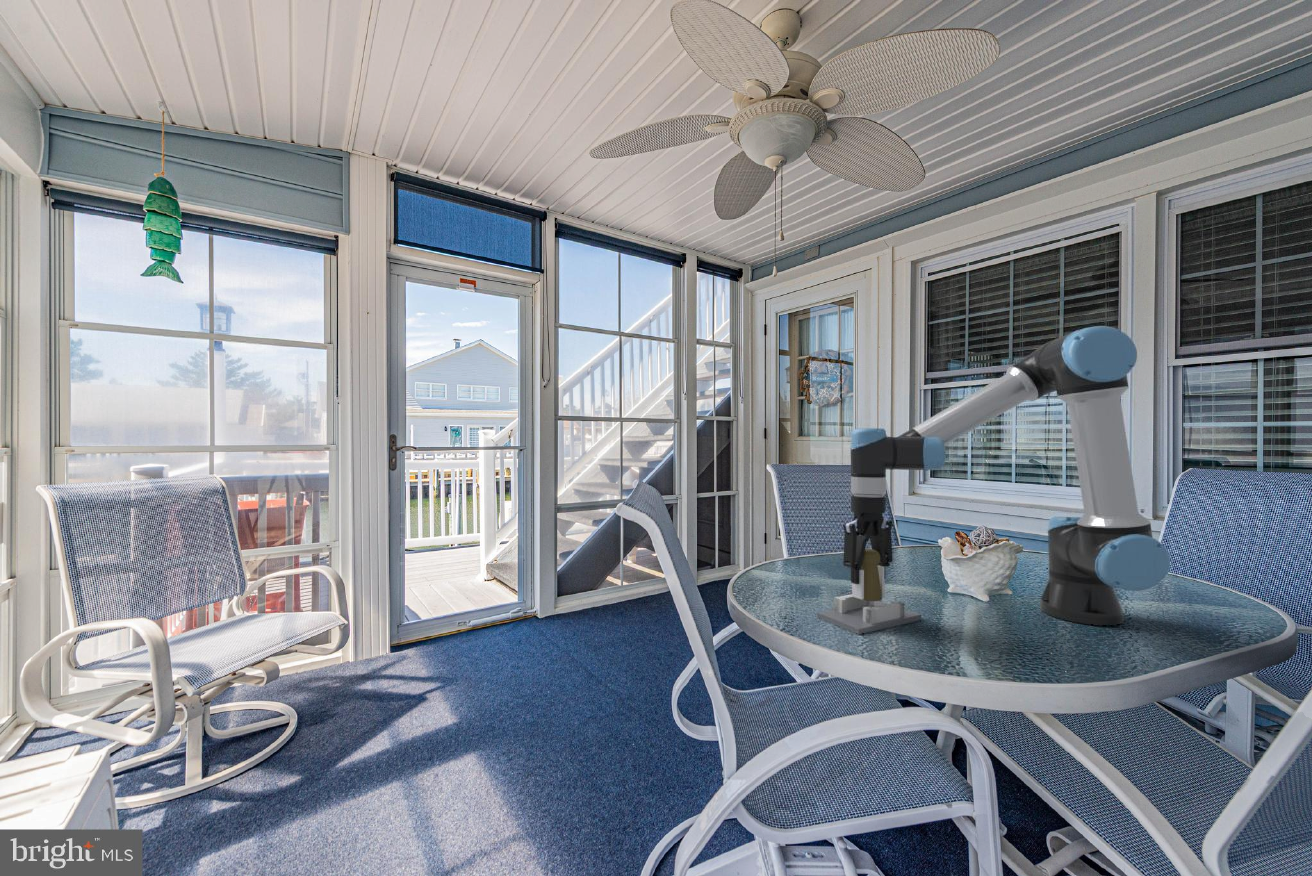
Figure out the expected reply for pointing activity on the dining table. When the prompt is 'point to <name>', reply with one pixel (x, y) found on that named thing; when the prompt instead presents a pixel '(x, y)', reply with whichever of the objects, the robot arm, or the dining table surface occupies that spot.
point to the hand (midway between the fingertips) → (868, 595)
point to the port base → (867, 614)
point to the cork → (871, 575)
